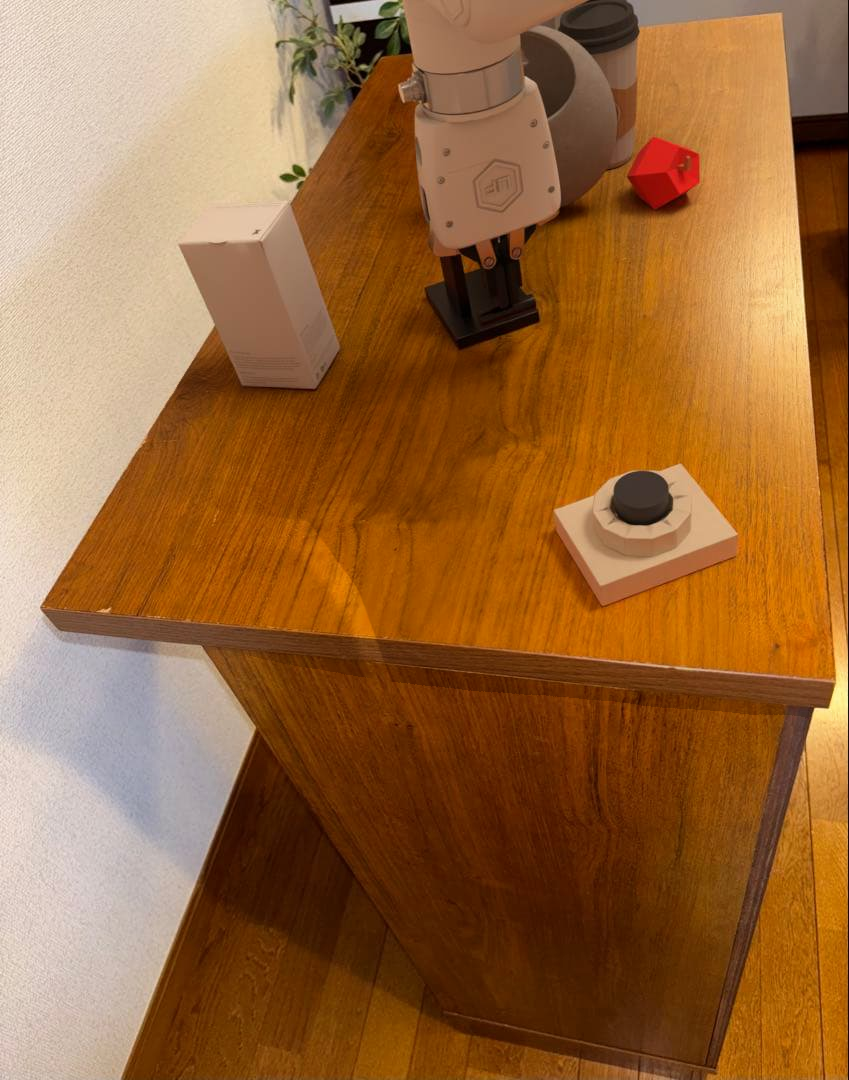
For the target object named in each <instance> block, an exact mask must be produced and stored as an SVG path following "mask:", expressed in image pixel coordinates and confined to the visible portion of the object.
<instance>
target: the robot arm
mask: <svg viewBox="0 0 849 1080" xmlns="http://www.w3.org/2000/svg"><path fill="white" fill-rule="evenodd" d="M586 1H588V0H402V7H403V11H404V17H405V21H406V27H407V32H408V37H409V44H410V48H411V54H412V59H413V62H412V63H411V67H412V72H411V76H410V77H408V78H407V80H405V81H402V82H400V83H399V82H398V84H397V87H398V88H397V89H398V92H399V96H400V100H401V101H402V103H403V104H406V103H409V102H414V103H416V102H418V104H417V105H416V106H415V108H414V146H415V159H416V170H417V179H418V187H419V196H420V200H421V205H422V211H423V215H424V218H425V221H426V223H427V225H428V226H429V231H428V232H429V233H428V234H429V235H428V248H429V250H430V251H431V252H432V254H433V256H434V257H436V258H440V257H445V256H455V255H456V254H461V256H464V257H465V258H468V259H469V260H471V261H473V262H475V263H477V264H478V263H479V264H478V266H479V268H480V273H481V279H482V285H483V289H484V292H485V294H486V295H487V297H488V298H490V297H493V298H494V299H495V301H496V302H497V304H498V305H499V306H500V308H501V309H503V308H506V307H508V305H509V302H510V304H513V305H515V304H517V303H520V300H519V293H518V288H519V287H520V288H522V287H523V284H524V283H523V276H522V270H521V262H520V259H521V258H522V257H523V255H524V253H525V246H526V244H527V243H528V241H529V240H530V239H531V237H532V235H533V234H534V232H535V231H536V229H537V228H538V227H542V226H543V225H545V224H546V223H549V222H550V221H552V220H553V219H555V218H556V217H557V216H558V215H559V213H560V208H559V207H560V204H561V192H560V183H559V176H558V170H557V164H556V159H555V153H554V148H553V143H552V138H551V134H550V129H549V125H548V120H547V116H546V112H545V109H544V105H543V101H542V98H541V95H540V92H539V89H538V86H537V84H536V83H535V82H534V81H532V80H530V79H529V78H528V77H526V76H524V68H523V59H522V50H521V41H520V34H521V33H523V32H526V31H528V30H530V29H532V28H534V27H536V26H538V25H540V24H542V23H544V22H546V21H548V20H550V19H552V18H554V17H555V16H557V15H559V14H561V13H563V12H565V11H568V10H570V9H572V8H574V7H576V6H578V5H580V4H582V3H584V2H586ZM496 237H498V242H499V243H498V244H497V246H495V251H493V248H492V245H491V242H490V239H493V238H496Z"/></svg>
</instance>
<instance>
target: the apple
mask: <svg viewBox="0 0 849 1080" xmlns="http://www.w3.org/2000/svg"><path fill="white" fill-rule="evenodd" d="M700 174H701V173H700V153H698V152H696V151H694V150H693V149H690V148H688V147H686V146H682V145H680V144H677V143H674V142H672V141H670V140H667V139H663V138H661V137H657V136H654V135H653V136H652V137H651V138H650V140H648V141H647V143H646V144H644V146H643V147H642V148H641V149H640V150H639V151H638V153H637V154H636V156H635V159H634V161H633V163H632V165H631V166H630V169H629V171H628V172H627V175H626V178H627V179H628V181H629V183H630V184H631V186H632V187H633V189H634V191H635V192H636V194H637V195H638V198H640V199H641V201H644V202H645V203H646V204H647V205H648V206H650V207H651V208H652V209H653V210H654V211H655V210H658V209H659V208H661V207H663V206H665V205H666V204H668V203H670V202H672V201H674V200H675V199H677V198H679V197H681V196H683V195H684V194H686V193H688V192H689V191H691V190H692V189H693V188H694V187H696V186H697V185H699V184H700V182H701V181H700V180H701V178H700V177H701V176H700Z"/></svg>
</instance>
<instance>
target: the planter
mask: <svg viewBox="0 0 849 1080" xmlns="http://www.w3.org/2000/svg"><path fill="white" fill-rule="evenodd" d="M520 41H521V49H522V50H523V51H524V56H525V57H526V58H527V59H528V61H529V62H526V63H523V68H524V76H526V77H528V78H529V79H530V80H532V81H534V82H535V83H536V84H537V86H538V89H539V92H540V95H541V98H542V101H543V105H544V109H545V112H546V116H547V120H548V125H549V129H550V134H551V138H552V143H553V148H554V153H555V159H556V164H557V170H558V176H559V183H560V192H561V204H560V207H559V209H560V208H564V207H565V206H568V205H570V204H572V203H574V202H575V201H577V200H579V199H580V198H582V197H583V196H585V195H586V194H587V193H589V191H590V190H592V189H593V188H594V187H595V185H596V184H597V183H599V181H600V180H601V178H602V177H603V175H604V174H605V172H606V170H608V169H607V167H608V165H609V162H610V160H611V157H612V154H613V151H614V147H615V142H616V135H617V114H616V108H615V103H614V98H613V95H612V92H611V89H610V86H609V84H608V81H607V79H606V77H605V75H604V73H603V72H602V70H601V68H600V67H599V65H598V64H597V63H596V61H595V60H594V59H593V57H592V56H591V55H590V54H589V53H588V52H587V51H586V50H585V49H584V48H583V47H582V46H581V45H580V44H579V43H577V42H576V41H575V40H573V39H572V38H570V37H569V36H567V35H565V34H563V33H561V32H559V31H557V30H554V29H552V28H549V27H545V26H541V25H538V26H536V27H534V28H532V29H530V30H528V31H526V32H523V33H521V34H520Z"/></svg>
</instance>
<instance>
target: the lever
mask: <svg viewBox="0 0 849 1080" xmlns="http://www.w3.org/2000/svg"><path fill="white" fill-rule="evenodd" d="M477 264H478V265H479V263H477ZM493 299H494V298H493ZM519 300H520V303H517V304H515V305H513V304H510V302H509V305H508V307H506V308H503V309H501V308H500V306H499V305H498V304H497V302H496V301H495V299H494V301H495V304H496V306H494V307H491V308H489V309H486V310H483V311H480V312H477V319H478V322H479V324H480V326H481V327H485V326H488V325H491V324H493V323H496V322H499V321H502V320H505V319H508V318H511V317H513V316H516V315H519V314H522V313H525V312H528V311H531V310H533V309H536V308H537V306H538V305H537V301H536V298H535V295H534V294H533V293H529V294H526V296H523V297H520V298H519Z"/></svg>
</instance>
